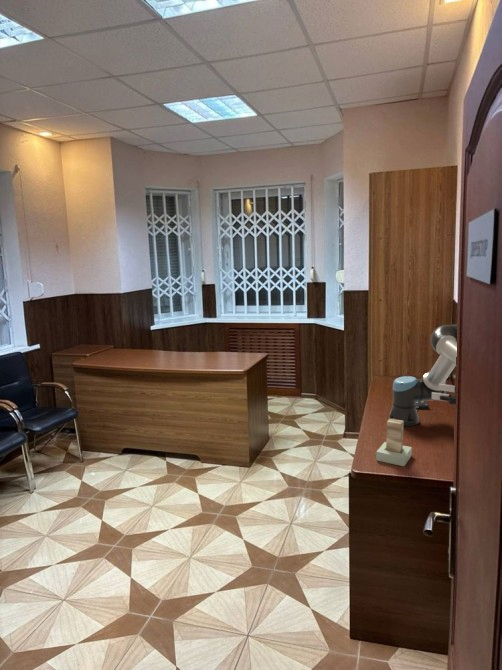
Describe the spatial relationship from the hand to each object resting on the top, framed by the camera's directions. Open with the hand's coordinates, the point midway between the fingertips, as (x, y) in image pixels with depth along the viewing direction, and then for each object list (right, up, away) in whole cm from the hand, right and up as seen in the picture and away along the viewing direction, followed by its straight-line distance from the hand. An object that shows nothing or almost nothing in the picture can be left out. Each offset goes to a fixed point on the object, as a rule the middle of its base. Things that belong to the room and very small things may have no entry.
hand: (435, 391), depth 198 cm
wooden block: (-15, -29, +7) cm, 34 cm away
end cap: (-15, -30, +7) cm, 35 cm away
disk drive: (+18, -18, +74) cm, 78 cm away
